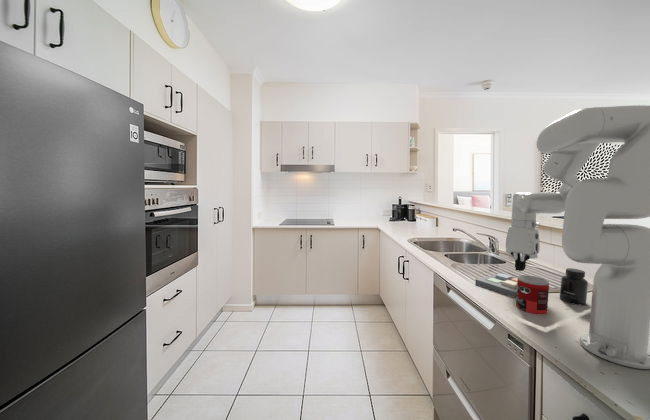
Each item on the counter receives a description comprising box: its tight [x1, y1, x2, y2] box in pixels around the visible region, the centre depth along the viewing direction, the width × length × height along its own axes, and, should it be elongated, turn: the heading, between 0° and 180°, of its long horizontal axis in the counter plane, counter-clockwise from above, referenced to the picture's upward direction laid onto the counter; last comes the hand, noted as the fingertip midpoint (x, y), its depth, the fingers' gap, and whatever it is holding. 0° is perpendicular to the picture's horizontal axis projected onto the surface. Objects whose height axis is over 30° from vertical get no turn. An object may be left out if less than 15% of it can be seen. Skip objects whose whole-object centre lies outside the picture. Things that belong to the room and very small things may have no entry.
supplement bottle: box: [558, 267, 589, 306], centre depth 91 cm, size 7×7×12 cm
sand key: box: [502, 280, 517, 289], centre depth 101 cm, size 4×4×2 cm
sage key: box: [486, 278, 502, 284], centre depth 106 cm, size 4×4×2 cm
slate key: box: [495, 272, 514, 281], centre depth 109 cm, size 4×4×2 cm
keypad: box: [475, 272, 517, 298], centre depth 105 cm, size 17×15×3 cm
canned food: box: [515, 274, 550, 316], centre depth 85 cm, size 8×8×11 cm
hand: (519, 270), depth 103 cm, fingers closed
